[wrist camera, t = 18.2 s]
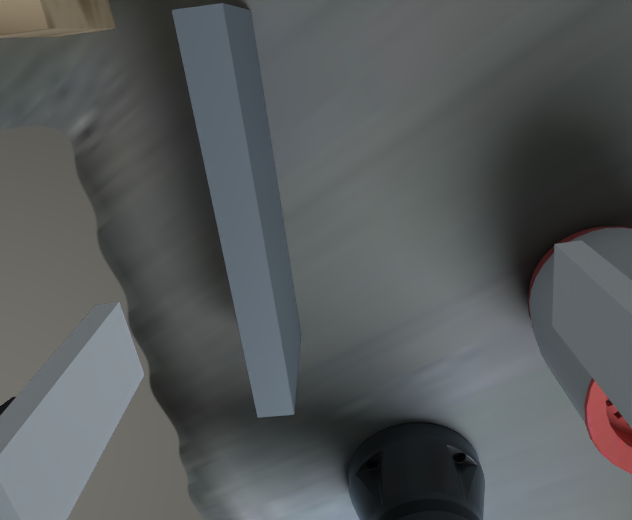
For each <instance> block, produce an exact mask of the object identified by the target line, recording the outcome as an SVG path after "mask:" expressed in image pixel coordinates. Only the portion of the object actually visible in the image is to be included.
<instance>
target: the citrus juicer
mask: <svg viewBox="0 0 632 520" xmlns="http://www.w3.org/2000/svg"><path fill="white" fill-rule="evenodd" d="M580 240H582V241H583V242H584V243H586V244H587V245H588V246H589V247H591V248H592V249H593V250H594V251H596V252H597V253H598V254H599V255H601V256H602V257H603V258H604V259H606V260H607V261H608V262H609V263H611V264H612V265H613V266H614V267H616V268H617V269H618V270H619V271H621V272H622V273H623V274H624V275H626V276H627V277H628V278H629V279H630V280H632V228H630V227H624V226H612V227H595V228H591V229H586V230H582V231H579V232H577V233H574V234H572V235H570V236H568V237H566V238H564V239H563V240H561V241H559V242H558V243H565V242H573V241H580ZM558 243H557V244H558ZM553 278H554V246H553V247H552V248H551V249H550V250H548V252H547V253H546V254H545V255H544V256H543V257H542V259H541V260H540V261H539V263H538V265H537V267H536V268H535V270H534V273H533V275H532V278H531V281H530V288H529V296H528V307H529V315H530V318H531V322H532V328H533V331H534V334H535V337H536V340H537V343H538V346H539V349H540V352H541V354H542V356H543V358H544V360H545V361H546V363H547V365H548V367H549V369H550V370H551V372H552V373H553V375H554V376H555V378H556V379H557V381H558V382H559V384H560V385H561V387H562V388H563V390H564V391H565V393H566V394H567V396H568V397H569V399H570V401H571V402H572V404H573V405H574V407H575V408H576V410H577V411H578V413H579V414H580V416H581V417H582V419H583V420H584V422H585V424H586V427H587V430H588V433H589V436H590V439H591V440H592V442H593V443H594V445H595V446H596V448H597V449H598V451H599V452H600V453H601V454H602V455H603V456H604V457H606V458H607V459H608V460H609V461H610V462H611V463H613V464H614V465H616V466H618V467H619V468H621V469H623V470H625V471H627V472H629V473H631V474H632V428H631V427H630V425H629V424H628V423H627V422H626V420H625V419H624V418H623V416H622V415H621V414H620V413H619V411H618V410H617V409H616V407H615V406H614V405H613V404H612V402H611V401H610V400H609V398H608V397H607V396H606V395H605V393H604V392H603V391H602V389H601V388H600V387H599V386H598V384H597V383H596V382H595V380H594V379H593V378H592V377H591V375H590V374H589V373H588V371H587V370H586V369H585V368H584V366H583V365H582V364H581V362H580V361H579V360H578V359H577V357H576V356H575V355H574V353H573V352H572V351H571V349H570V348H569V347H568V346H567V344H566V343H565V342H564V340H563V339H562V338H561V337H560V335H559V334H558V333H557V331H556V330H555V329H554V328H553V326H552V314H553Z"/></svg>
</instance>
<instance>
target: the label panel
mask: <svg viewBox="0 0 632 520" xmlns="http://www.w3.org/2000/svg"><path fill="white" fill-rule="evenodd" d="M172 14H173V19H174V24H175V28H176V33H177V38H178V43H179V47H180V52H181V57H182V62H183V66H184V71H185V76H186V81H187V85H188V90H189V95H190V99H191V104H192V109H193V114H194V118H195V123H196V128H197V133H198V137H199V142H200V147H201V152H202V156H203V161H204V166H205V171H206V175H207V180H208V185H209V190H210V194H211V199H212V204H213V209H214V213H215V218H216V223H217V228H218V232H219V237H220V242H221V247H222V251H223V256H224V261H225V266H226V270H227V275H228V280H229V285H230V289H231V294H232V299H233V304H234V308H235V313H236V318H237V323H238V327H239V332H240V337H241V342H242V346H243V351H244V356H245V361H246V365H247V370H248V375H249V380H250V384H251V389H252V394H253V398H254V403H255V408H256V413H257V417H258V418H260V417H272V416H284V415H294V411H295V399H296V388H297V376H298V365H299V353H300V342H301V331H300V324H299V318H298V311H297V305H296V299H295V292H294V286H293V279H292V273H291V266H290V260H289V253H288V247H287V241H286V234H285V228H284V221H283V215H282V208H281V202H280V195H279V189H278V183H277V176H276V170H275V163H274V157H273V150H272V144H271V137H270V131H269V125H268V118H267V112H266V105H265V99H264V92H263V86H262V79H261V73H260V67H259V60H258V54H257V47H256V41H255V34H254V28H253V21H252V15H251V10H248V9H244V8H240V7H236V6H232V5H229V4H225V3H218V4H211V5H204V6H197V7H189V8H182V9H175V10H172Z"/></svg>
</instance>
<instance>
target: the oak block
mask: <svg viewBox="0 0 632 520" xmlns="http://www.w3.org/2000/svg"><path fill="white" fill-rule="evenodd" d="M110 29H116V27H115V23H114V19H113V15H112V11H111V7H110V3H109V0H0V38H23V37H58V36H65V35H73V34H80V33H88V32H95V31H102V30H110Z"/></svg>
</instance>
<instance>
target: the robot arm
mask: <svg viewBox="0 0 632 520" xmlns="http://www.w3.org/2000/svg"><path fill="white" fill-rule="evenodd" d="M552 326H553V328H554V329H555V330H556V331H557V333H558V334H559V335H560V337H561V338H562V339H563V340H564V342H565V343H566V344H567V346H568V347H569V348H570V349H571V351H572V352H573V353H574V355H575V356H576V357H577V359H578V360H579V361H580V362H581V364H582V365H583V366H584V368H585V369H586V370H587V371H588V373H589V374H590V375H591V377H592V378H593V379H594V380H595V382H596V383H597V384H598V386H599V387H600V388H601V389H602V391H603V392H604V393H605V395H606V396H607V397H608V398H609V400H610V401H611V402H612V404H613V405H614V406H615V407H616V409H617V410H618V411H619V413H620V414H621V415H622V416H623V418H624V419H625V420H626V422H627V423H628V424H629V425H630V427H631V428H632V280H630V279H629V278H628V277H627V276H626V275H624V274H623V273H622V272H621V271H619V270H618V269H617V268H616V267H614V266H613V265H612V264H611V263H609V262H608V261H607V260H606V259H604V258H603V257H602V256H601V255H599V254H598V253H597V252H596V251H594V250H593V249H592V248H591V247H589V246H588V245H587V244H586V243H584V242H583V241H582V240H580V241H573V242H565V243H558V244H554V278H553V314H552ZM143 377H144V372H143V369H142V366H141V363H140V360H139V358H138V355H137V352H136V349H135V346H134V343H133V340H132V337H131V334H130V331H129V328H128V325H127V323H126V320H125V317H124V314H123V311H122V308H121V305H120V302H114V303H106V304H98V305H95V306H94V307H93V309H92V310H91V311H90V312H89V313H88V314H87V316H86V317H85V318H84V319H83V320H82V321H81V323H80V324H79V325H78V326H77V327H76V328H75V329H74V331H73V332H72V333H71V334H70V335H69V336H68V338H67V339H66V340H65V341H64V342H63V343H62V345H61V346H60V347H59V348H58V349H57V350H56V351H55V353H54V354H53V355H52V356H51V357H50V359H49V360H48V361H47V362H46V363H45V364H44V365H43V367H42V368H41V369H40V370H39V371H38V372H37V374H36V375H35V376H34V377H33V378H32V379H31V381H30V382H29V383H28V384H27V385H26V386H25V388H24V389H23V390H22V391H21V392H20V393H19V394H18V396H17V397H12V398H11V399H10V400H8V401H7V402H5V403H4V404H3V405H1V406H0V520H67V518H68V516H69V514H70V512H71V511H72V509H73V507H74V505H75V503H76V501H77V499H78V498H79V496H80V494H81V492H82V490H83V488H84V486H85V484H86V483H87V481H88V479H89V477H90V475H91V473H92V471H93V470H94V468H95V466H96V464H97V462H98V460H99V459H100V457H101V455H102V453H103V451H104V449H105V448H106V446H107V444H108V442H109V440H110V438H111V436H112V434H113V433H114V431H115V429H116V427H117V425H118V423H119V422H120V420H121V418H122V416H123V414H124V412H125V410H126V409H127V406H128V405H129V403H130V401H131V399H132V397H133V395H134V394H135V392H136V390H137V388H138V386H139V384H140V382H141V381H142V379H143ZM348 476H349V492H350V497H351V501H352V504H353V506H354V508H355V510H356V513H357V515H358V517H359V519H360V520H483V510H484V491H485V480H484V474H483V470H482V467H481V464H480V462H479V459H478V456H477V454H476V452H475V450H474V448H473V447H472V446H471V444H470V443H469V442H468V441H467V440H466V439H465V438H463V437H462V436H461V435H459V434H458V433H456V432H454V431H452V430H450V429H447V428H445V427H442V426H438V425H433V424H426V423H410V424H402V425H398V426H394V427H390V428H388V429H385V430H383V431H380V432H379V433H377V434H375V435H373V436H372V437H370V438H369V439H368V440H366V441H365V442H364V443H363V444H362V445H361V446H360V447H359V448H358V450H357V451H356V452H355V454H354V456H353V458H352V460H351V463H350V466H349V475H348Z"/></svg>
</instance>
